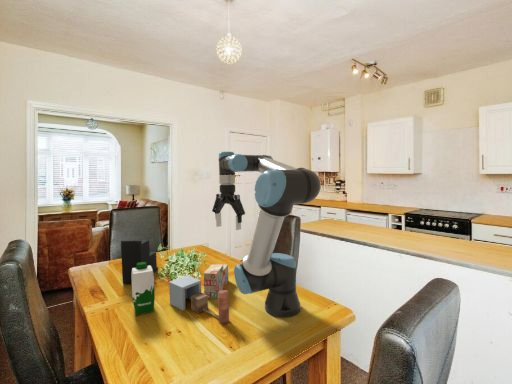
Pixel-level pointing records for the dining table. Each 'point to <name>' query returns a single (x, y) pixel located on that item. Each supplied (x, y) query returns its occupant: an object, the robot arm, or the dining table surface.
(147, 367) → the dining table surface
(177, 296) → the box
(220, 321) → the tethered block
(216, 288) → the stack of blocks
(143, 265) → the milk carton
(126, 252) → the bookend
